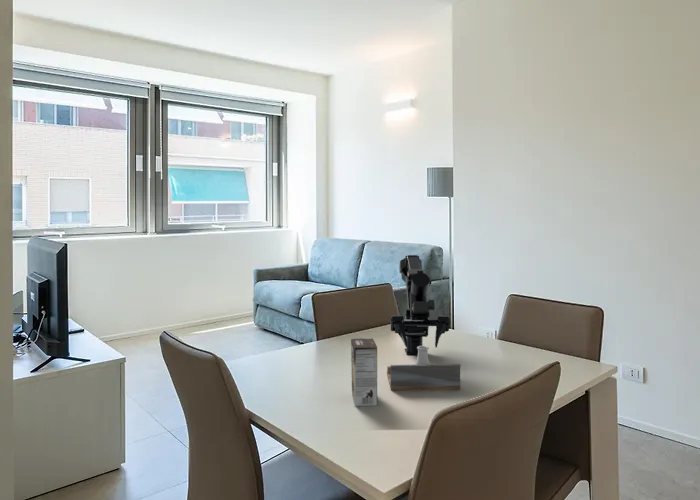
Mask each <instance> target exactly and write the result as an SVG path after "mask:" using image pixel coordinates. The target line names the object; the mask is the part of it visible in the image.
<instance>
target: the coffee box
mask: <svg viewBox="0 0 700 500" xmlns="http://www.w3.org/2000/svg"><path fill="white" fill-rule="evenodd" d="M350 347H351V349H350V351H351V352H350V355H351V358H350V360H351V361H350V362H351V366H350V367H351V397H352V401H353V404H354V407H365V406H367V407H368V406H372V407H373V406H378V346H377V344H376V341H375V340H374V338H350Z"/></svg>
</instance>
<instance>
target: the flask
mask: <svg viewBox="0 0 700 500" xmlns="http://www.w3.org/2000/svg"><path fill="white" fill-rule="evenodd" d="M429 348H430V347H429V346H426V345H423V346H418V347H417V349H418V354H417V357H416V361H415V364H414V365H420V364H431V363H430V360H429V355H428V350H429Z"/></svg>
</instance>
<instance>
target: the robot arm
mask: <svg viewBox="0 0 700 500" xmlns="http://www.w3.org/2000/svg"><path fill="white" fill-rule="evenodd" d="M398 268H399V271H398V272H399V274H401V276H400V277H401V280H402V281H403V282H405V287H406V299H407V309H406V312H405V315H403V314H402V315H398V314H397V315H394V314H393V315H392V316H391V317H390V331H392V332H394V334H398V335H399V337H400V338H401V341H402V342H403V344H404V345H403V346H405V348H404V352H405V354H406V355H411V356H413V355H417V356H418V349H417V347H418V346H424V344H423V337H424V338H427V337H428V336H429V329H430V327H435V328H436V329H435V336H434V337H435V338H434V341H435V342H434V346H435V349H436V348H438V344H439V341H440V338H441V336H442V335H443V334H445V333H446V332H448V331H450V327H451V317H450V316H449V315H436V319H429V318H430V316H431V315H430V312H432V311H433V312H434V311H435V309H436V304H435V299H428V293H429V289H430V286H431V285H432V280H431V278H430V277H429V275H427V272H426V271H425V270H423V262H422V260H421V259H420V255H418V254H407V255H405V257H404V258H402V259H401V260H400V261H399V267H398Z"/></svg>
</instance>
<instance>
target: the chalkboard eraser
mask: <svg viewBox="0 0 700 500" xmlns="http://www.w3.org/2000/svg"><path fill="white" fill-rule="evenodd" d="M386 368H387V369H386V376H387V380H388V385H389V388H390V389H389V390H390V391H450V390H451V391H454V390H455V391H459V390H461V364H459V363H455V364H454V363H447V364H445V363H443V364H442V363H439V364H438V363H435V364H431V363H430V364H420V365H415V364H390V365H389V366H388V365H387V366H386Z"/></svg>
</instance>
